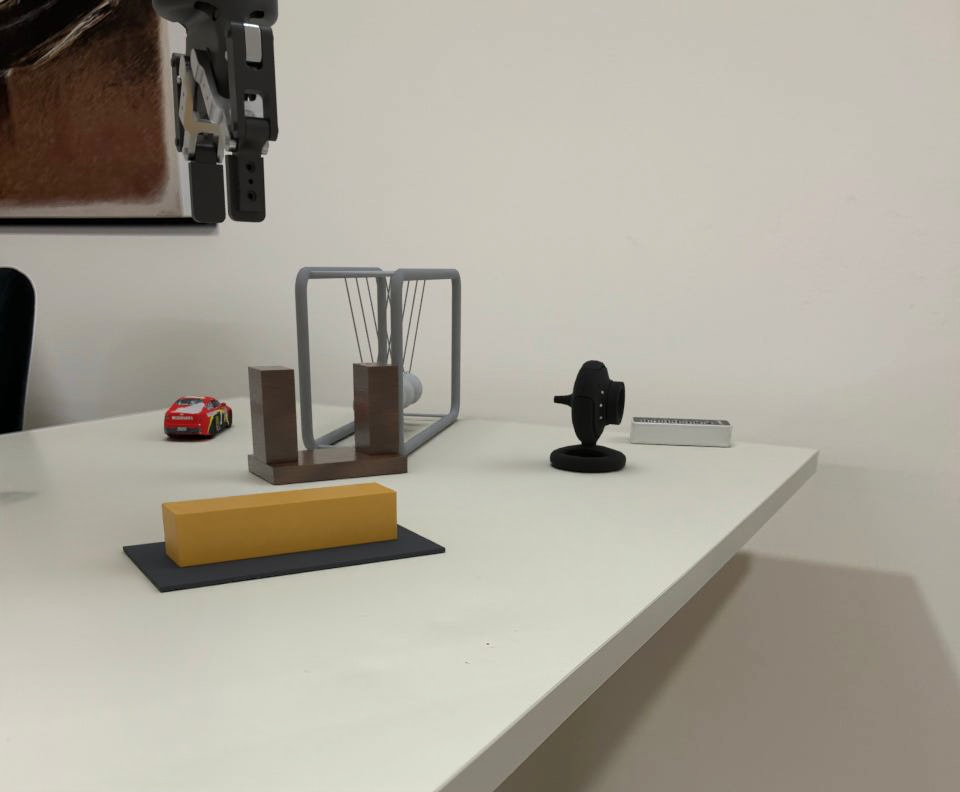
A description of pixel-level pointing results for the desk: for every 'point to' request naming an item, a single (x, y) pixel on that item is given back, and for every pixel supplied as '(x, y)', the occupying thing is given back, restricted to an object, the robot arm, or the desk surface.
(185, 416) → the race car
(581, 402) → the webcam
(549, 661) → the desk surface
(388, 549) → the mat
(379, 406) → the wooden u-shaped stand
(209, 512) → the bar
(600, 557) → the desk surface
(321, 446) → the newton's cradle
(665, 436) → the multiport hub
